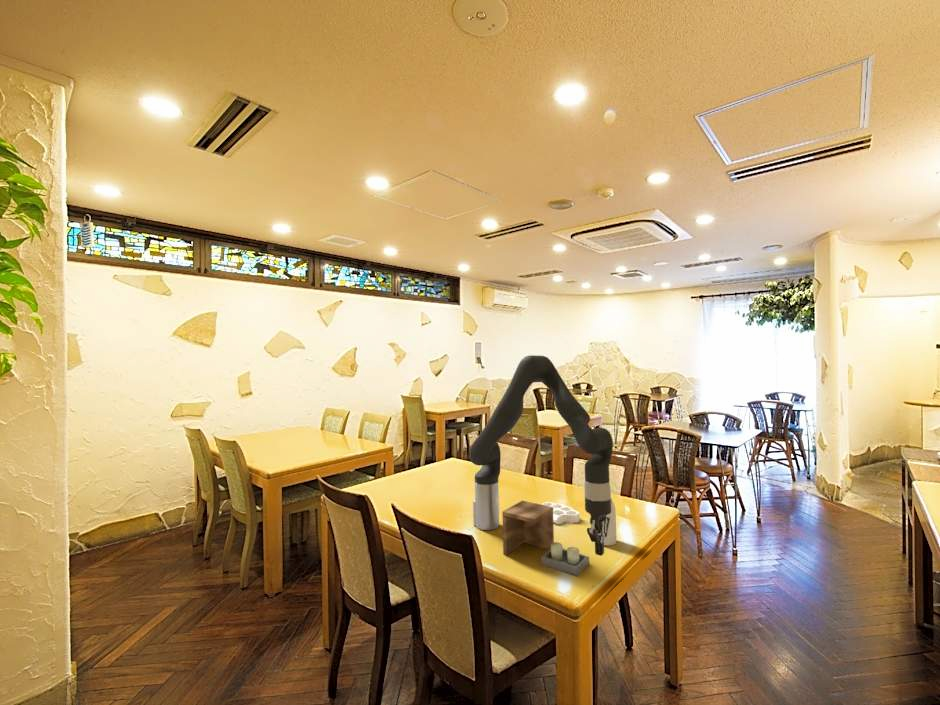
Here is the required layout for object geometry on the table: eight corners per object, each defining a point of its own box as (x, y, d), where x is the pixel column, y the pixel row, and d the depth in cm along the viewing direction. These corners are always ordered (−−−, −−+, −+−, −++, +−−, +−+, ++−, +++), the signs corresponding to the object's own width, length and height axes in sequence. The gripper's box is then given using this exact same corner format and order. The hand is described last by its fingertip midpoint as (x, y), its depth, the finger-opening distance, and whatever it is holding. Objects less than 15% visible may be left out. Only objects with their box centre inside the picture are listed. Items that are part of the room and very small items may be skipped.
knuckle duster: (529, 515, 174) (553, 507, 183) (562, 529, 160) (586, 519, 168) (528, 507, 174) (552, 499, 183) (562, 520, 160) (586, 511, 168)
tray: (541, 565, 132) (540, 556, 132) (554, 554, 139) (554, 546, 139) (576, 577, 124) (576, 568, 124) (589, 565, 131) (589, 556, 131)
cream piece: (565, 566, 129) (565, 550, 130) (570, 561, 132) (570, 545, 132) (576, 569, 127) (575, 553, 127) (581, 565, 130) (581, 549, 130)
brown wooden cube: (503, 554, 139) (502, 511, 139) (523, 540, 149) (522, 500, 149) (535, 564, 132) (534, 519, 132) (553, 549, 142) (552, 507, 142)
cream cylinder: (549, 560, 133) (548, 545, 133) (554, 556, 136) (554, 541, 136) (559, 564, 131) (558, 548, 131) (564, 559, 134) (564, 544, 134)
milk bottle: (611, 536, 151) (610, 481, 151) (620, 546, 143) (618, 487, 144) (590, 537, 151) (589, 481, 151) (597, 546, 143) (596, 488, 143)
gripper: (593, 488, 133) (595, 543, 132) (576, 499, 122) (578, 559, 122) (617, 492, 128) (619, 549, 128) (602, 504, 118) (604, 566, 117)
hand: (599, 554), depth 125 cm, fingers closed
